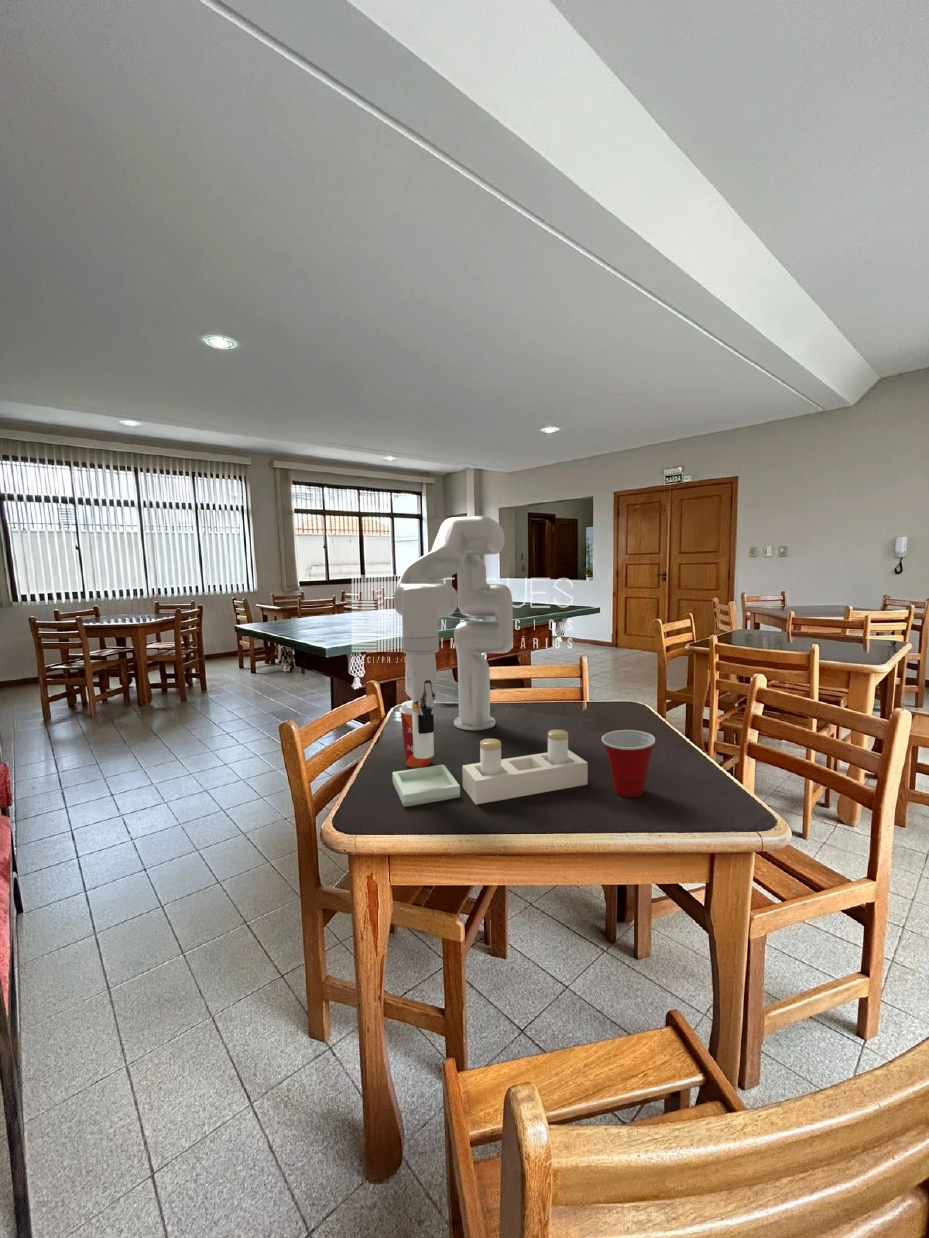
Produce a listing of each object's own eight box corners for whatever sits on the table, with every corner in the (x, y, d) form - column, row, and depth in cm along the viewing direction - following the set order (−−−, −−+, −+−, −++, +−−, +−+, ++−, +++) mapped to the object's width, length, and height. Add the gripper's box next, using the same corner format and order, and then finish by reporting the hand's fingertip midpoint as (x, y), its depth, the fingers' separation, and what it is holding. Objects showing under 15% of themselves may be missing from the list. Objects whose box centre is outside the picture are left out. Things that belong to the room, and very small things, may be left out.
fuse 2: (544, 777, 114) (544, 730, 113) (561, 775, 115) (561, 728, 114) (553, 785, 110) (553, 737, 108) (571, 782, 111) (571, 734, 110)
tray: (392, 782, 113) (392, 772, 112) (444, 774, 117) (443, 764, 116) (403, 806, 101) (403, 795, 101) (460, 797, 105) (459, 785, 105)
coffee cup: (410, 772, 118) (408, 710, 116) (395, 761, 125) (393, 702, 123) (441, 764, 122) (439, 704, 121) (425, 754, 129) (423, 697, 128)
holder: (462, 787, 110) (462, 765, 109) (567, 769, 118) (567, 749, 117) (475, 804, 102) (475, 780, 101) (587, 784, 110) (587, 762, 110)
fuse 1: (478, 789, 109) (477, 740, 108) (496, 785, 110) (496, 737, 109) (485, 798, 105) (484, 747, 103) (504, 794, 106) (504, 744, 105)
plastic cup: (597, 779, 113) (598, 727, 111) (647, 781, 111) (648, 728, 110) (604, 802, 102) (605, 745, 101) (660, 804, 100) (661, 746, 99)
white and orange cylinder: (411, 752, 109) (410, 703, 108) (431, 750, 111) (429, 701, 110) (416, 759, 105) (414, 708, 104) (436, 757, 106) (435, 706, 105)
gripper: (395, 640, 112) (398, 720, 114) (412, 652, 96) (414, 744, 98) (428, 638, 115) (430, 716, 116) (449, 649, 99) (451, 739, 101)
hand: (423, 728), depth 107 cm, fingers closed on white and orange cylinder, 4 cm apart
